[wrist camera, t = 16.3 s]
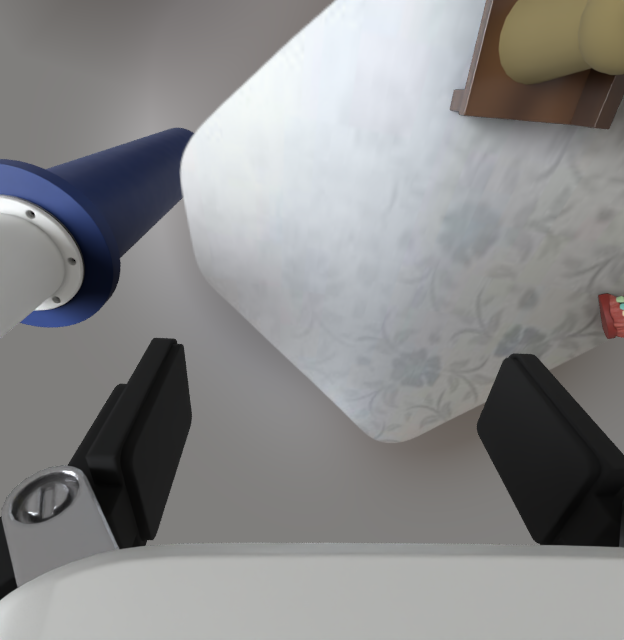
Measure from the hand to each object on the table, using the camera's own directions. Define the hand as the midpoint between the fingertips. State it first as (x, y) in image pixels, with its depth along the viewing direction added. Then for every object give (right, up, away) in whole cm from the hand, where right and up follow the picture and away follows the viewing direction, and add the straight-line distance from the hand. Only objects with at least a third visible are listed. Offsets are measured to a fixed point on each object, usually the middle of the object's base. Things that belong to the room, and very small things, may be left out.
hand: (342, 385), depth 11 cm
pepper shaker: (+16, +23, +17) cm, 32 cm away
